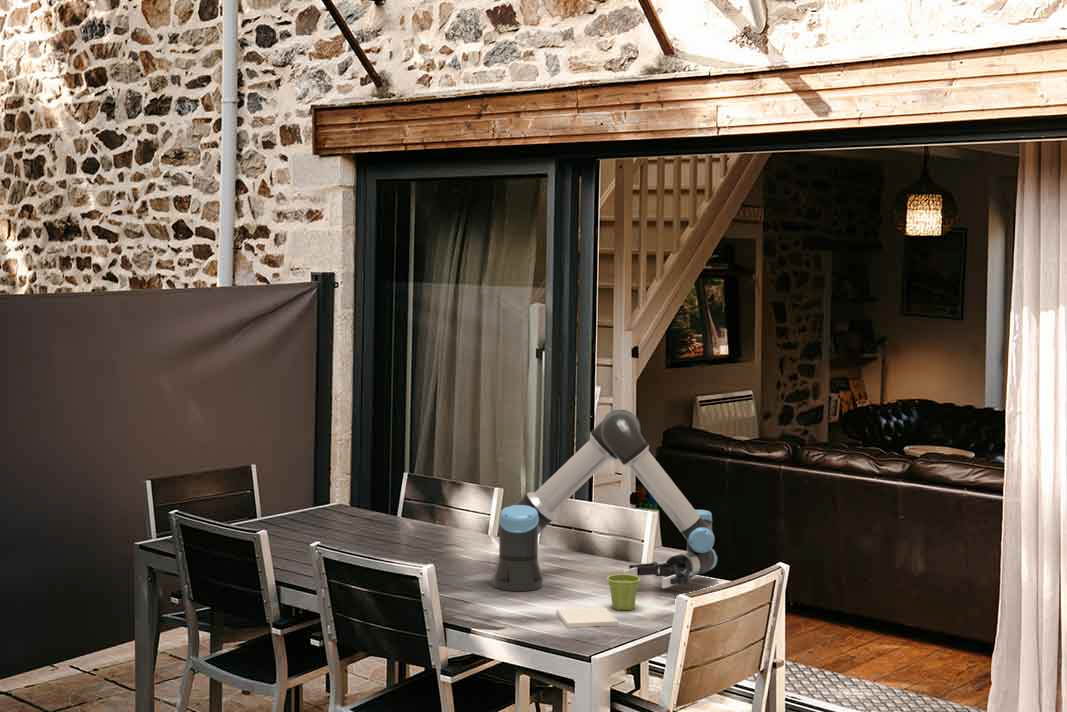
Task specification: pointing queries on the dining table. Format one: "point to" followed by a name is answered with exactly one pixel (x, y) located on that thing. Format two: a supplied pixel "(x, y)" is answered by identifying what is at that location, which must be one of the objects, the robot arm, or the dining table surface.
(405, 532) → the dining table surface
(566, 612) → the tile
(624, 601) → the plant pot
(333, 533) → the dining table surface
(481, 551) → the dining table surface
